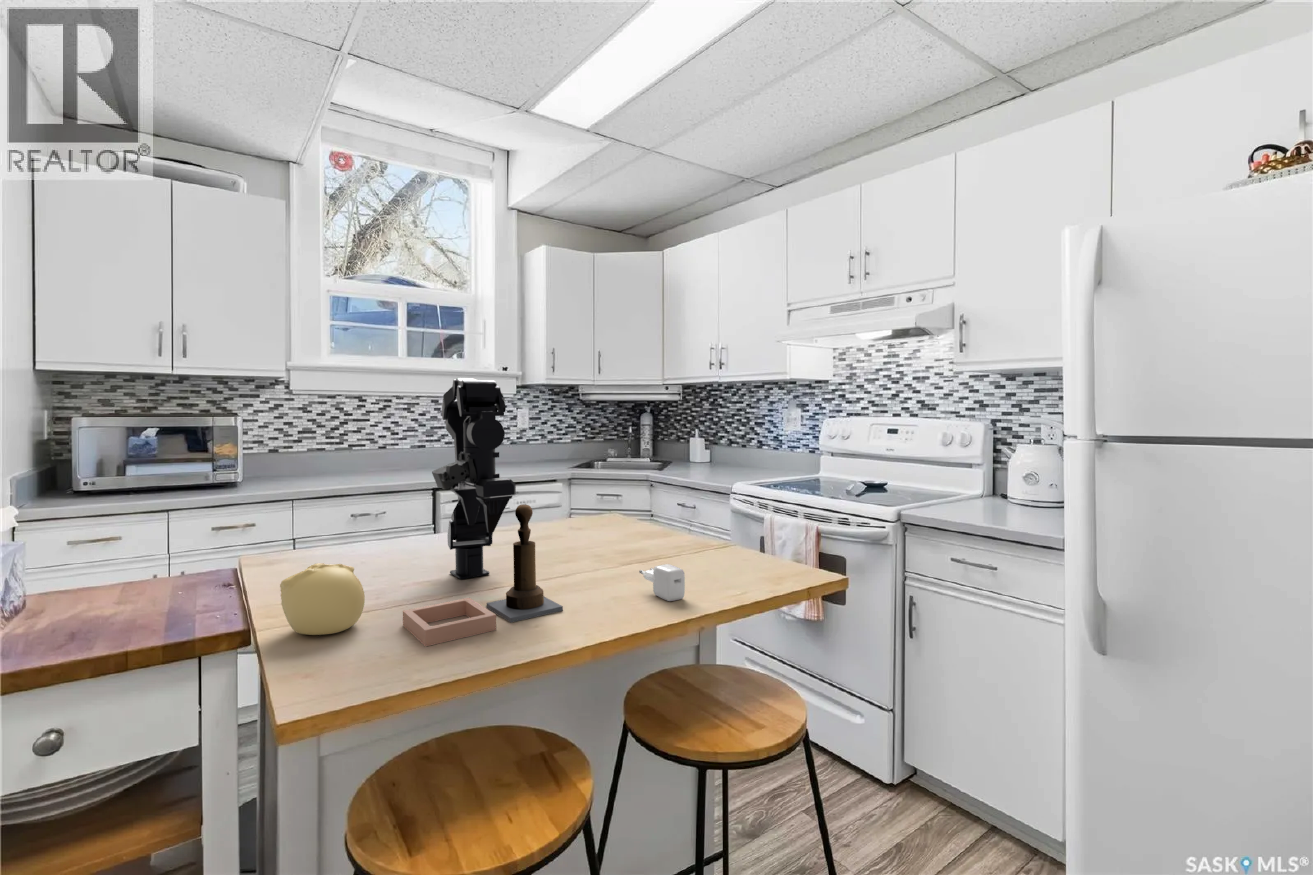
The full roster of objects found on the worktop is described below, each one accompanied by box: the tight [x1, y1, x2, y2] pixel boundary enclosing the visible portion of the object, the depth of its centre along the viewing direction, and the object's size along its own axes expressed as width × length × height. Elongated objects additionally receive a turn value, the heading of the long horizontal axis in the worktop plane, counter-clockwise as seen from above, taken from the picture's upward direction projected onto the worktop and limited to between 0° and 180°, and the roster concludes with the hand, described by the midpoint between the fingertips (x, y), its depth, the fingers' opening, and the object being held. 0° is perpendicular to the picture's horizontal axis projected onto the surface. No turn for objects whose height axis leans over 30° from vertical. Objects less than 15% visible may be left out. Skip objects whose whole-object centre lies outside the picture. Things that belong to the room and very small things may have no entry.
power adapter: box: [638, 563, 686, 602], centre depth 122 cm, size 11×5×6 cm, turn 33°
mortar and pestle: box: [505, 504, 545, 609], centre depth 113 cm, size 7×6×18 cm
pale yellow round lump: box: [279, 562, 366, 636], centre depth 103 cm, size 11×12×11 cm
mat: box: [485, 596, 564, 623], centre depth 113 cm, size 10×10×1 cm
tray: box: [402, 597, 497, 647], centre depth 104 cm, size 11×11×2 cm
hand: (480, 528), depth 120 cm, fingers open, 9 cm apart
